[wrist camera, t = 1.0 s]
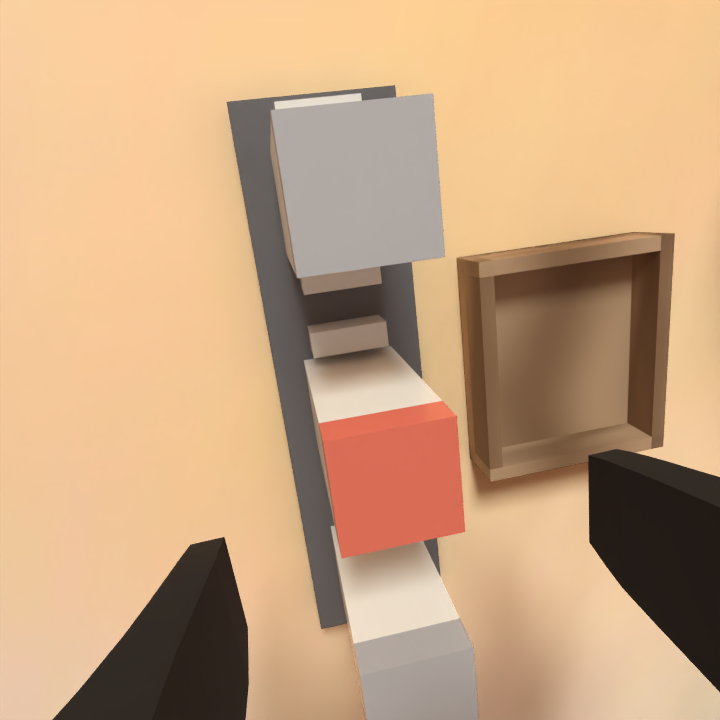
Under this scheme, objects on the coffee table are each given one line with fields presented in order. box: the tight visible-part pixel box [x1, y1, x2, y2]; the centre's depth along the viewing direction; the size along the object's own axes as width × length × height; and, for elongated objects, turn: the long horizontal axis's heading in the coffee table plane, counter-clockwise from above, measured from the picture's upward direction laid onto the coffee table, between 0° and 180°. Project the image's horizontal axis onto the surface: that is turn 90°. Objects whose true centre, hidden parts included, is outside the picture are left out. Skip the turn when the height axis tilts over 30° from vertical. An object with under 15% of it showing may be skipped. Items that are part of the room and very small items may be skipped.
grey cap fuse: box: [270, 94, 445, 278], centre depth 13 cm, size 3×3×6 cm
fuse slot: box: [331, 526, 479, 720], centre depth 16 cm, size 3×3×6 cm
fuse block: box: [227, 85, 440, 629], centre depth 18 cm, size 5×19×2 cm, turn 7°
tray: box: [457, 232, 675, 482], centre depth 19 cm, size 7×8×2 cm
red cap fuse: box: [304, 346, 465, 558], centre depth 15 cm, size 3×3×6 cm
